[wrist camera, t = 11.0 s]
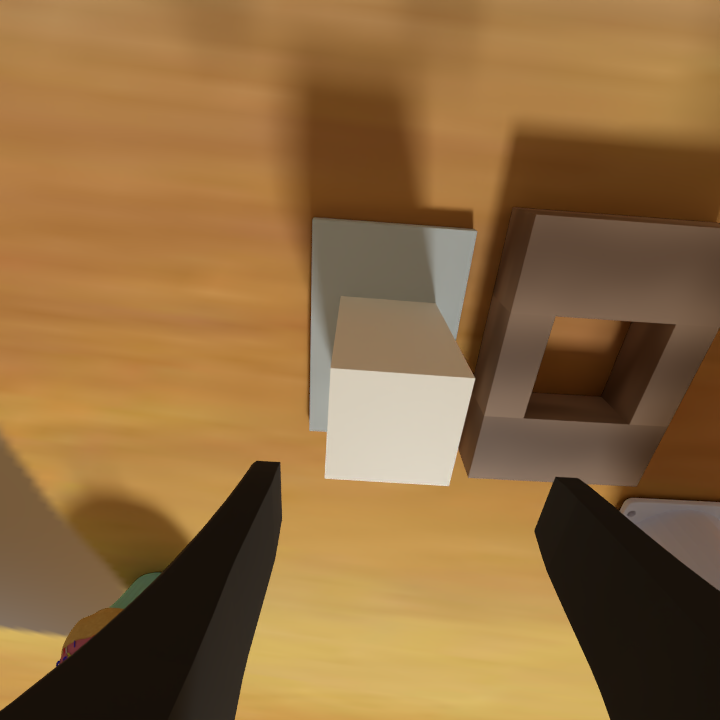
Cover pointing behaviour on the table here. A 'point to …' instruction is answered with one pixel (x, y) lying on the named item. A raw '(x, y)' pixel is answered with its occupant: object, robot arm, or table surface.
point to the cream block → (395, 393)
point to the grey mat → (379, 280)
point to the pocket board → (593, 301)
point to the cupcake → (103, 617)
